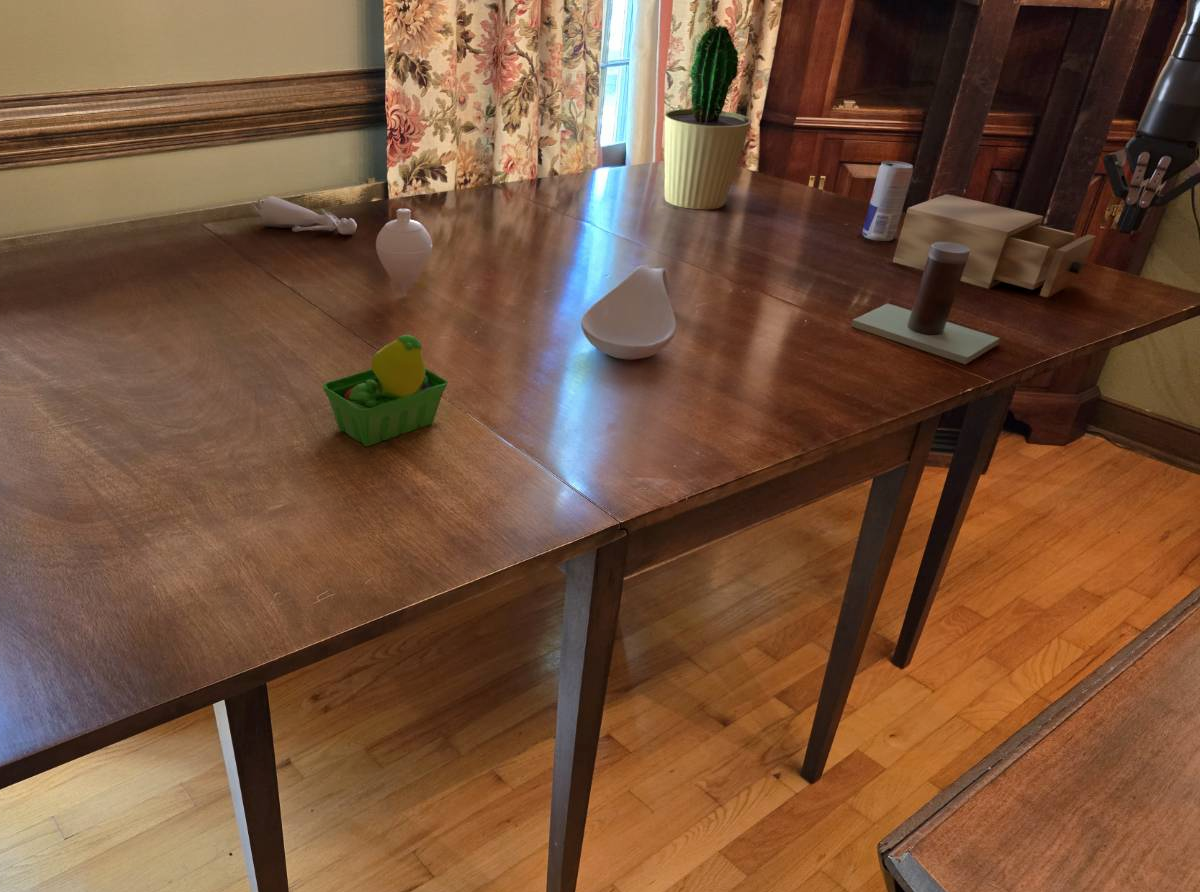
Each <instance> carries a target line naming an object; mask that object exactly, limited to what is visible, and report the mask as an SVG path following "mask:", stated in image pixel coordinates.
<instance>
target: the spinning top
mask: <svg viewBox="0 0 1200 892" xmlns="http://www.w3.org/2000/svg"><path fill="white" fill-rule="evenodd" d="M411 216H412V210H410V209H409V208H398V209H397V210H396V219H392V220H390V221H388V222H386V223H385V224H384V226H383V227H382V228H381V229H380V231H379V233H378V234H377V236H376V239H375V251H376V254H377V257H378V259H379V261H380V263H381V265H382V266H383V269H384V270H385V271H386V272H387V275H389V277H390V278H391V279H392V281H393V282H394V284H395V285H397V287H398V288H399V289H400V290H401V291H402V293H403V294H402V297H403V298H406V297H407V291H408V290H409V289H410V288H411V287H412V286H413V284H414V283H415V282H416V281H417V280H418V278H419V276H420V275H421V274H422V273H423V271H424V269H425V268H426V266H427V264H428V262H429V260H430V258H431V255H432V252H433V241H432V237H431V235H430V234H429V231H428V230H427V229H426V228H425V227H424V225H423V223H421V222H419V221H417V220H414V219H411Z"/></svg>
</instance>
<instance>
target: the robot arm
mask: <svg viewBox="0 0 1200 892" xmlns="http://www.w3.org/2000/svg"><path fill="white" fill-rule="evenodd" d="M1126 158H1127V159H1126ZM1199 158H1200V0H1187V1H1186V8H1185V17H1184V22H1183V24H1182V25H1181V27H1180V30H1179V33H1178V35H1177V37H1176V40H1175V43H1174V45H1173V47H1172V49H1171V52H1170V55H1169V56H1168V59H1167V61H1166V62H1165V65H1164V66H1163V67H1162V69H1161V72H1160V73H1159V75H1158V78H1157V80H1156V82H1155V85H1154V87H1153V90H1152V92H1151V94H1150V97H1149V99H1148V102H1147V105H1146V106H1145V109H1144V112H1143V114H1142V116H1141V119H1140V120H1139V123H1138V127H1137V129H1136V131H1135V134H1134V135H1133V136H1132V138H1131V139H1130V140H1129V141H1128V142H1127V143H1126V144H1125V147H1124V148H1122V149H1120V150H1118V151H1114V152H1111V153H1108V154H1106V155H1104V156H1103V158H1102V164H1103V166H1104V169H1105V172H1106V175H1107V178H1108V180H1109V184H1110V187H1111V189H1112V193H1113V195H1114V197H1116V198H1120V200H1122V201H1123V202H1124V205H1123V209H1122V211H1121V213H1120V215H1119V217H1118V220H1117V222H1116V227H1117V228H1119V231H1118V233H1121V234H1125V235H1129V236H1131V235H1133V234H1134V233H1135V232H1139V230H1141V228H1143V227H1144V224H1145V222H1146V220H1147V218H1148V214H1149V213H1150V211H1151V209H1152V208H1153V207H1163V206H1166V205H1167V204H1169V203H1171V202H1172V201H1174V200H1176V199H1177V198H1178V197H1181V195H1183V194H1185V193H1186V192H1188V191H1190V190H1192V189H1193V188H1194V187H1196V186H1198V185H1199V184H1200V162H1199ZM1126 161H1127V162H1128V165H1129V170H1130V172H1131V174H1132V175H1133V176H1132V179H1131V181H1130V185H1129V182H1128V178H1127V176H1126V173H1125V169H1124V167H1123V166H1124V165H1126ZM1187 169H1188V170H1187ZM1185 170H1187V172H1186V173H1185V174H1184V175H1183V182H1181V183H1179V184H1178V185H1176V186H1175V187H1173V188H1172V189H1170V190H1168V191H1167V192H1166V193H1163V194H1160V193H1161V191H1162V189H1163V188H1164V186H1165V185H1166V183H1167V182H1168V181H1170V180H1172V179H1174V178H1175V177H1177V176H1178V175H1179V174H1181V173H1182V172H1184V171H1185Z"/></svg>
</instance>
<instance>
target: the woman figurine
mask: <svg viewBox="0 0 1200 892" xmlns="http://www.w3.org/2000/svg"><path fill="white" fill-rule="evenodd" d="M256 203H257V206H256V205H255V201H252V202H251V204H250V207H251V210H250V211H251V213H252V214H254V215H257V216H259V217H260V220H261V225H263V226H264V227H265V228H279V229H280V228H282V229H287V228H288V229H289V228H291V230H292V232H294V233H297V232H302V231H328V232H332V231H335V230H337V232H338V233H339V234H341V235H343V236H350V235H353V234H354V233H355V232H356V231H357V226H358V225H357V223H356V220H355V219H353V218H352V217H349V219H347V218H345V217H342V218H340V219H339V218H338V217H337V216H336V215H334V214H333V213H331V212H329V211H326V210H325V209H323V208H320V210H321V214H318V213H316V212H314V211H313V210H311V209H309V208H307V207H303V206H301V205H298V204H295V203H293V202H291V201H287V200H285V199H282V198H279V197H276V196H274V195H268V196H267V197H266V198H265V199H264V200H263V203H262V201H261V199H260V198H258V199H257V202H256Z"/></svg>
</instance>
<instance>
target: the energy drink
mask: <svg viewBox="0 0 1200 892" xmlns="http://www.w3.org/2000/svg"><path fill="white" fill-rule="evenodd" d="M913 167H914V165H913V164H911V163H908V162H904V161H899V160H898V161H897V160H885V161H882V162H881V164H880V166H879V168H878V170H877V171H878V172H877V175H876V178H875V183H874V187H873V190H872V194H871V198H870V201H869V205H868V209H867V214H866V217H865V220H864V224H863V228H862V236H863V237H864V238H866V239H868V240H872V241H876V242H877V241H878V242H891V241H893V240H894V239H895V238H896V234H897V231H898V226H899V223H900V220H901V216H902V212H903V208H904V205H905V203H906V202H905V201H906V198H907V195H908V191H909V188H910V184H911V181H912V177H913V173H914V170H913V169H914V168H913Z"/></svg>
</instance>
